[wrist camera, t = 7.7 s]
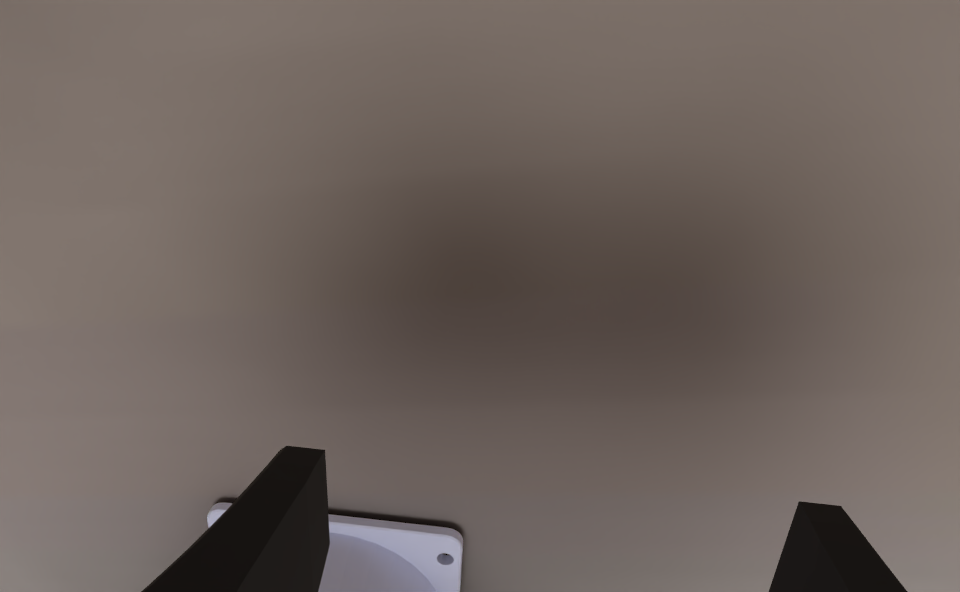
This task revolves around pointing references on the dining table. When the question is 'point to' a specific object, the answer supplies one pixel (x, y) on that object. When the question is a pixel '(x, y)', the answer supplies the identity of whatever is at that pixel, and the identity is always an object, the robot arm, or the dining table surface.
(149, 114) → the dining table surface
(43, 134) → the dining table surface
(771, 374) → the dining table surface
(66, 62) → the dining table surface
